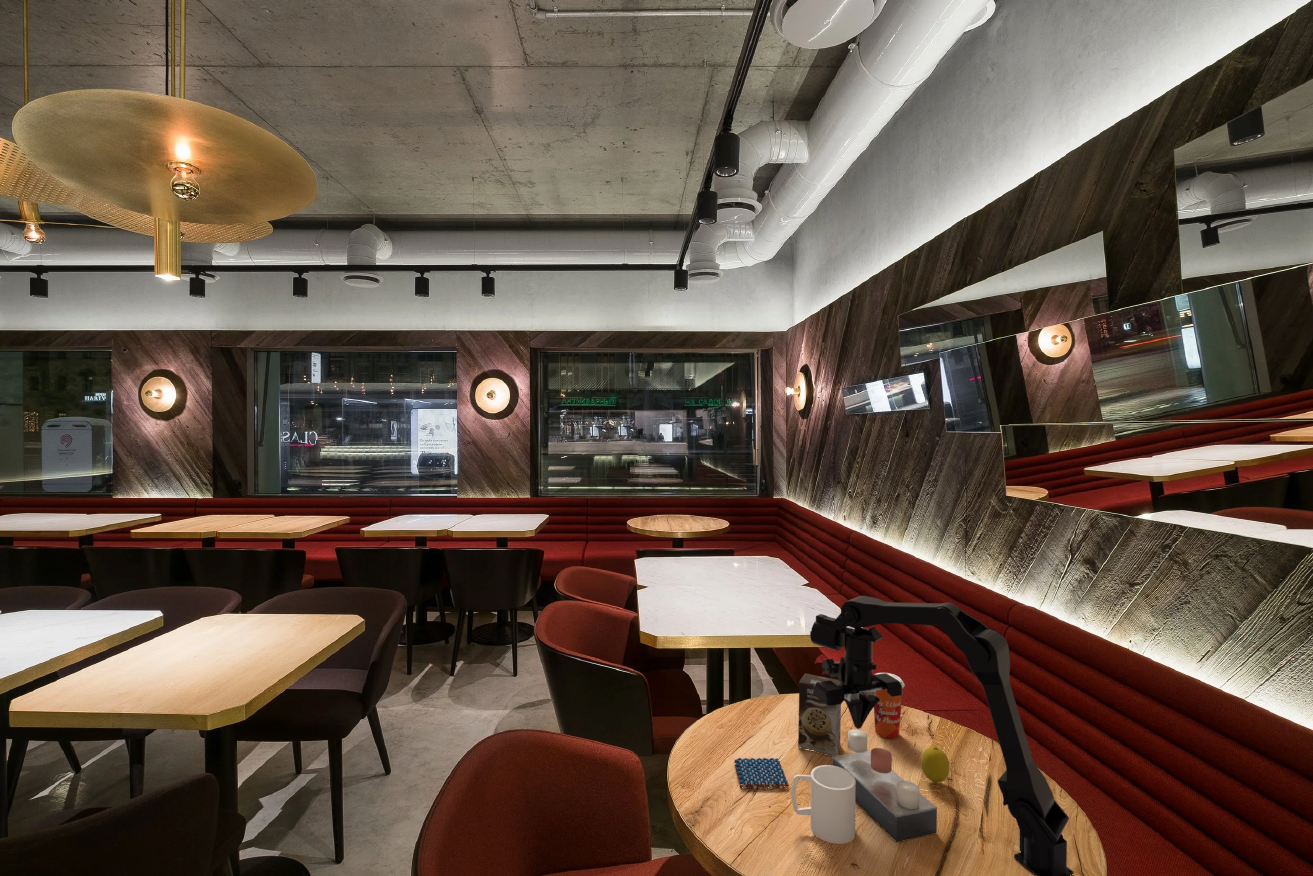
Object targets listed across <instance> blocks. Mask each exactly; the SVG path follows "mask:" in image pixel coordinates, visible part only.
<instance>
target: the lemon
mask: <svg viewBox="0 0 1313 876" xmlns="http://www.w3.org/2000/svg"><path fill="white" fill-rule="evenodd" d="M920 764H921V765H920V766H921V771H922V772H923V774H924V776H925V777H926V778H927V779H928V780H929V781H931V782H932V783H933V784H938V783H942V782H944V781H946V780H947V778H948V776H949V773H950V762H949V759H948V756H947V754H946V753H945V752H944V751H943V750H942V749H941V748H939V747H938V746H936V745H933V746H928V747H926V748H925V749H924V751H923V753H922V755H921V758H920Z"/></svg>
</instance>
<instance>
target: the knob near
mask: <svg viewBox="0 0 1313 876" xmlns="http://www.w3.org/2000/svg"><path fill="white" fill-rule="evenodd" d="M920 790H921V789H920V787H919V786H918V785H917V784H916V783H914V782H912V781H908V780H905V781H900V782H898V783H897V802H898V804H899V805H901V806H902V807H905V808H908V809H916V808H918V807H919V793H920Z"/></svg>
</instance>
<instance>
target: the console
mask: <svg viewBox="0 0 1313 876" xmlns="http://www.w3.org/2000/svg"><path fill="white" fill-rule="evenodd" d="M832 766H837V767H840V768H843V769H845V770H847V771H849V772H850V773H851V774H852V775H853V776H854V777H855V781H856V788H855V804H856V805H858V806H859V807H860V808H861V809H862V810H863V811H864V812H865V813H866V814H867V815H868V816H869V817H870V818H871V819H872V820H873V821H874V822H875V823H876V824H877V825H878V826H879V827H881V828H882V830H884V831H885V833H887V834H888V835H889V836H890V837H891V838H892V839H893V840H894V841H895V842H896V843H899V842H904V841H908V840H912V839H917V838H921V837H926V836H930V835H935V834H937V831H938V830H937V828H938V826H937V825H938V821H937V820H938V817H937V816H938V807H937V805H935V804H934V803H933V802H931V801H930V799H928V798H927V797H925V796H924V794H922V793H920V792H919V807H918V808H916V809H908V808H905V807H902V806H901V805H899V804H898V802H897V783H898V782H900V781H906V780H905V779H903V777H901V776H900V775H899V774H898V773H896V772H895V771H894V770H893V769H892V771H891V772H890V773H879V772H877V771H875V770H873V769H872V768H871V750H868V749H867V751H866V752H863V753H858V752H851V753H844V754H837V755H836V756H833V757H832Z"/></svg>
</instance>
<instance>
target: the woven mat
mask: <svg viewBox="0 0 1313 876" xmlns="http://www.w3.org/2000/svg"><path fill="white" fill-rule="evenodd" d="M733 763H734V767H735V770H736V774H737V777H738V783H739V787H740V788H741V787H743V788H742V790H746V789H747V788H748V787H749V788H751V789H754V790H756V789H759V788H761V789H762V787H763V789H764V788H765V789H767V790H768V789H769V790H773V788H772V787H776V788H777V787H778V789H779V788H780V789H779V790H783V787H784V786H785V787H786V786H787V787H789V786H790V784H789V782H788V780H787V777H786V775H785V771H784V769H783V768H782V764H781V762H780V761H779V757H776V758H773V757H770V758H769V757H768V758H766V757H758V758H754V757H751V758H749V757H748V758H747V757H745V758H742V757H738V758H736V759H734V762H733ZM774 774H775V775H774ZM739 775H740V776H739ZM741 784H742V785H741ZM746 787H747V788H746ZM768 787H769V788H768ZM749 788H748V789H749Z"/></svg>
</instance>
